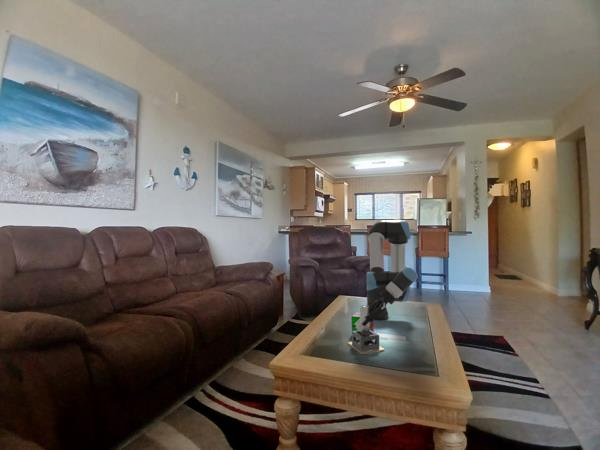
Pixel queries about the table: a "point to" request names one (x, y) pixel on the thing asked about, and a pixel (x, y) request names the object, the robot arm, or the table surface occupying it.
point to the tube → (363, 312)
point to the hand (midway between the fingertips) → (357, 327)
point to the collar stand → (363, 346)
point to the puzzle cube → (356, 318)
